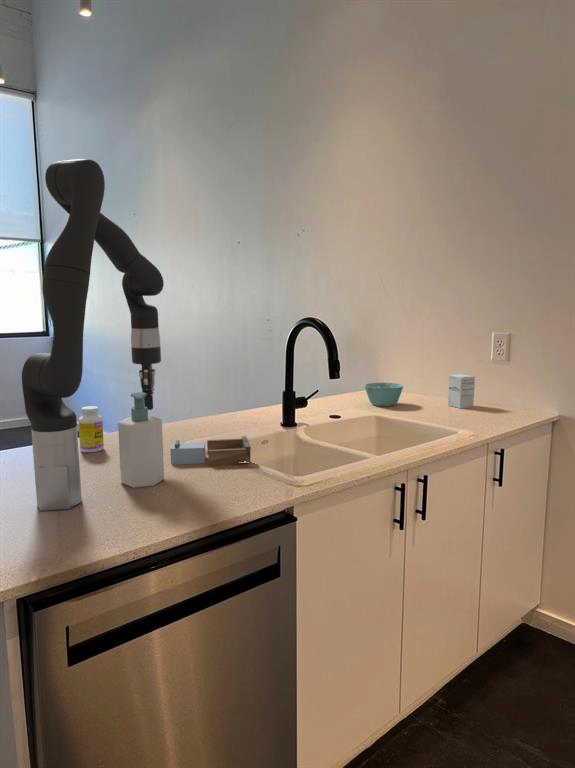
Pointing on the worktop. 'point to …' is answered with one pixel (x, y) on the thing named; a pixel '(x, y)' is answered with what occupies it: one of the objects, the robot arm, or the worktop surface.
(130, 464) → the soap bottle
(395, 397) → the bowl
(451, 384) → the supplement box
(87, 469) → the worktop surface
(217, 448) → the bay
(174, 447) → the blue slab with ledge
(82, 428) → the supplement bottle
